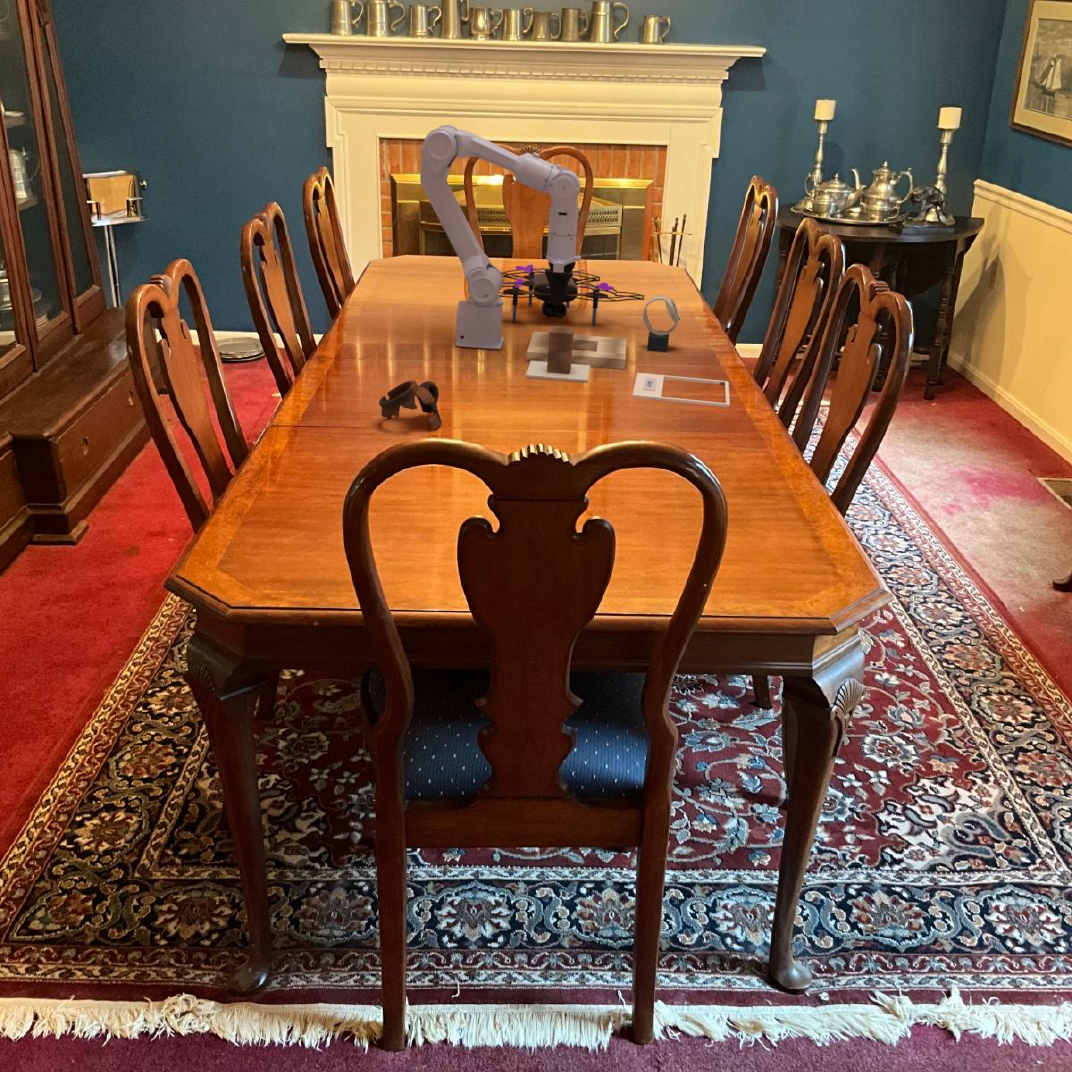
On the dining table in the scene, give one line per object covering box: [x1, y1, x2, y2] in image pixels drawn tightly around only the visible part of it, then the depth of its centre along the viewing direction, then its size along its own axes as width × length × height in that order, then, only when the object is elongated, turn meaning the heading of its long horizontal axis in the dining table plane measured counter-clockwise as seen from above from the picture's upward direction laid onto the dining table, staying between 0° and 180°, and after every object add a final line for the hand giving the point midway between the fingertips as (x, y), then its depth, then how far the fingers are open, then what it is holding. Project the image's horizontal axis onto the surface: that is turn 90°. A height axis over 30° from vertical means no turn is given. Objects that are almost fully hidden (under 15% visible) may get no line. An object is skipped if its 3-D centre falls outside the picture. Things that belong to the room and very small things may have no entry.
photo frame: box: [631, 372, 730, 408], centre depth 204 cm, size 15×1×18 cm
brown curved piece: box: [378, 379, 442, 432], centre depth 179 cm, size 12×10×8 cm
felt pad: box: [525, 361, 591, 383], centre depth 210 cm, size 12×10×1 cm
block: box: [547, 326, 575, 374], centre depth 208 cm, size 4×4×8 cm
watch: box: [642, 295, 681, 353], centre depth 228 cm, size 6×8×11 cm
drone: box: [498, 264, 646, 327], centre depth 250 cm, size 40×10×28 cm
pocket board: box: [525, 330, 627, 370], centre depth 222 cm, size 20×16×2 cm
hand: (558, 300), depth 220 cm, fingers open, 7 cm apart
